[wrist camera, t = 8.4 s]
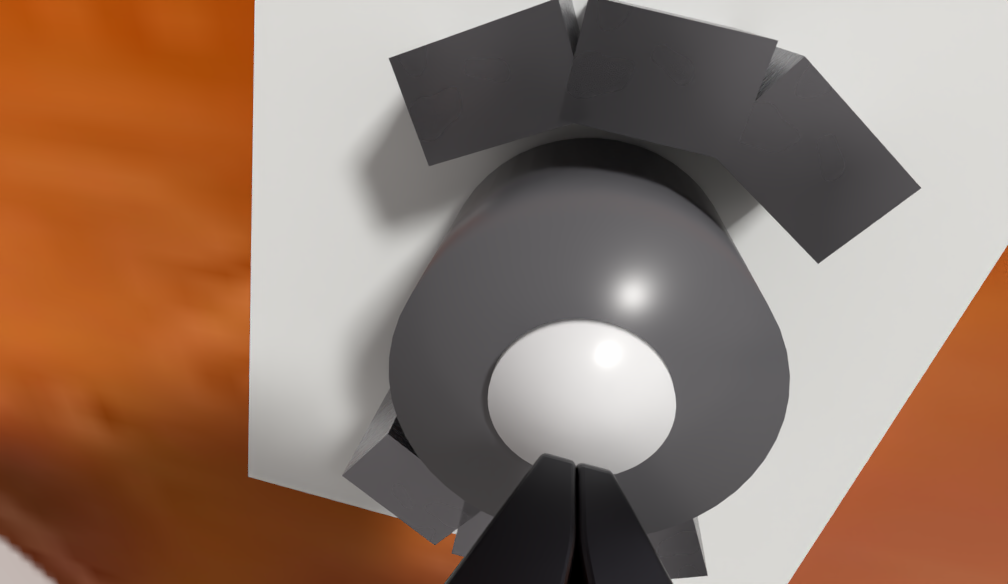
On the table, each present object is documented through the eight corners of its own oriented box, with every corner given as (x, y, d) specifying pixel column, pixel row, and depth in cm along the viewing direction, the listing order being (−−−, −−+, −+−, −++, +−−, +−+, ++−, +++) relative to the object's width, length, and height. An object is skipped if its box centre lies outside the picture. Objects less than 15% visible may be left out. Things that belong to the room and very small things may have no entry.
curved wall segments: (670, 503, 14) (684, 617, 12) (385, 426, 15) (336, 520, 12) (877, 61, 10) (976, 87, 7) (455, -39, 10) (400, -50, 7)
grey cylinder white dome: (680, 416, 13) (715, 581, 10) (432, 364, 14) (372, 506, 10) (774, 170, 11) (868, 268, 7) (465, 110, 11) (400, 175, 7)
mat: (761, 605, 16) (764, 619, 16) (255, 466, 17) (248, 476, 16) (1207, -99, 9) (1233, -104, 8) (272, -306, 9) (259, -318, 9)
